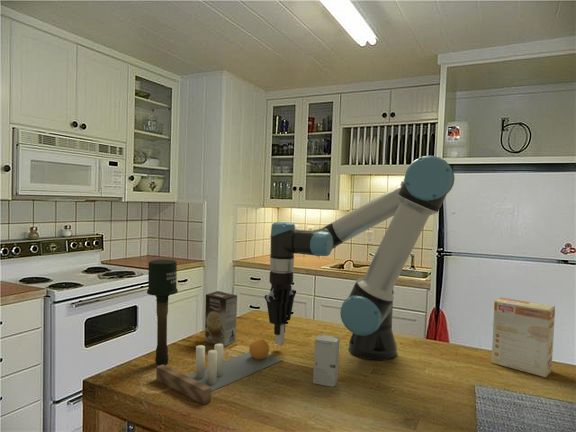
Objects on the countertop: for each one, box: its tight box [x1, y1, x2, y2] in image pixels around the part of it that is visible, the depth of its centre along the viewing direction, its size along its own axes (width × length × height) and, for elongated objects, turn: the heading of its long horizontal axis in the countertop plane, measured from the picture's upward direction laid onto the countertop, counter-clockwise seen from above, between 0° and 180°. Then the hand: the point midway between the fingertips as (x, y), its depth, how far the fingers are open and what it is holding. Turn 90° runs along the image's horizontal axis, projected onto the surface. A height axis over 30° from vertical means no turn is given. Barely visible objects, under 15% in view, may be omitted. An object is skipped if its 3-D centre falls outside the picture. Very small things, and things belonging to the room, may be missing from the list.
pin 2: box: [207, 349, 217, 385], centre depth 113 cm, size 2×2×8 cm
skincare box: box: [312, 334, 341, 388], centre depth 115 cm, size 6×4×12 cm
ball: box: [248, 338, 270, 360], centre depth 130 cm, size 6×6×6 cm
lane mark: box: [186, 351, 283, 392], centre depth 122 cm, size 12×29×1 cm, turn 140°
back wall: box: [155, 365, 212, 406], centre depth 109 cm, size 20×2×4 cm, turn 50°
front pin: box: [213, 344, 224, 377], centre depth 118 cm, size 2×2×8 cm
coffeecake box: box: [491, 297, 556, 378], centre depth 129 cm, size 15×7×20 cm, turn 47°
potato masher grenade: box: [146, 259, 179, 366], centre depth 124 cm, size 8×9×30 cm
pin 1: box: [195, 344, 206, 379], centre depth 116 cm, size 2×2×8 cm
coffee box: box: [204, 290, 238, 348], centre depth 144 cm, size 9×6×16 cm
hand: (279, 343), depth 137 cm, fingers closed
